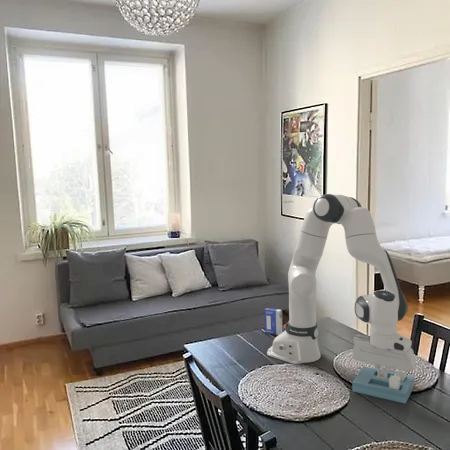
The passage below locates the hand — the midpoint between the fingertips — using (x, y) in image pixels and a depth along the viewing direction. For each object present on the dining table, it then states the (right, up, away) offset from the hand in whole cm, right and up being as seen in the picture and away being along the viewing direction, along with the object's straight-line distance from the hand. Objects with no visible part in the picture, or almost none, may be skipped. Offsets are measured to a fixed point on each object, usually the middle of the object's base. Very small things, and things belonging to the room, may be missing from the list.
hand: (382, 376), depth 159 cm
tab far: (+8, -3, +5) cm, 10 cm away
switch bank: (+2, -6, +5) cm, 8 cm away
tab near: (+4, -4, -1) cm, 6 cm away
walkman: (-31, 0, +62) cm, 70 cm away
